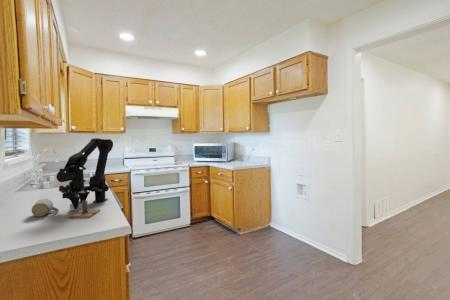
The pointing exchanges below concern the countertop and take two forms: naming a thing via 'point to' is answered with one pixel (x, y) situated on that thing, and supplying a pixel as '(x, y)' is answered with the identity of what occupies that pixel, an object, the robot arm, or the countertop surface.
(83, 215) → the keeper
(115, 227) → the countertop surface
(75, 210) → the grey square socket
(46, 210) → the ceramic mug
